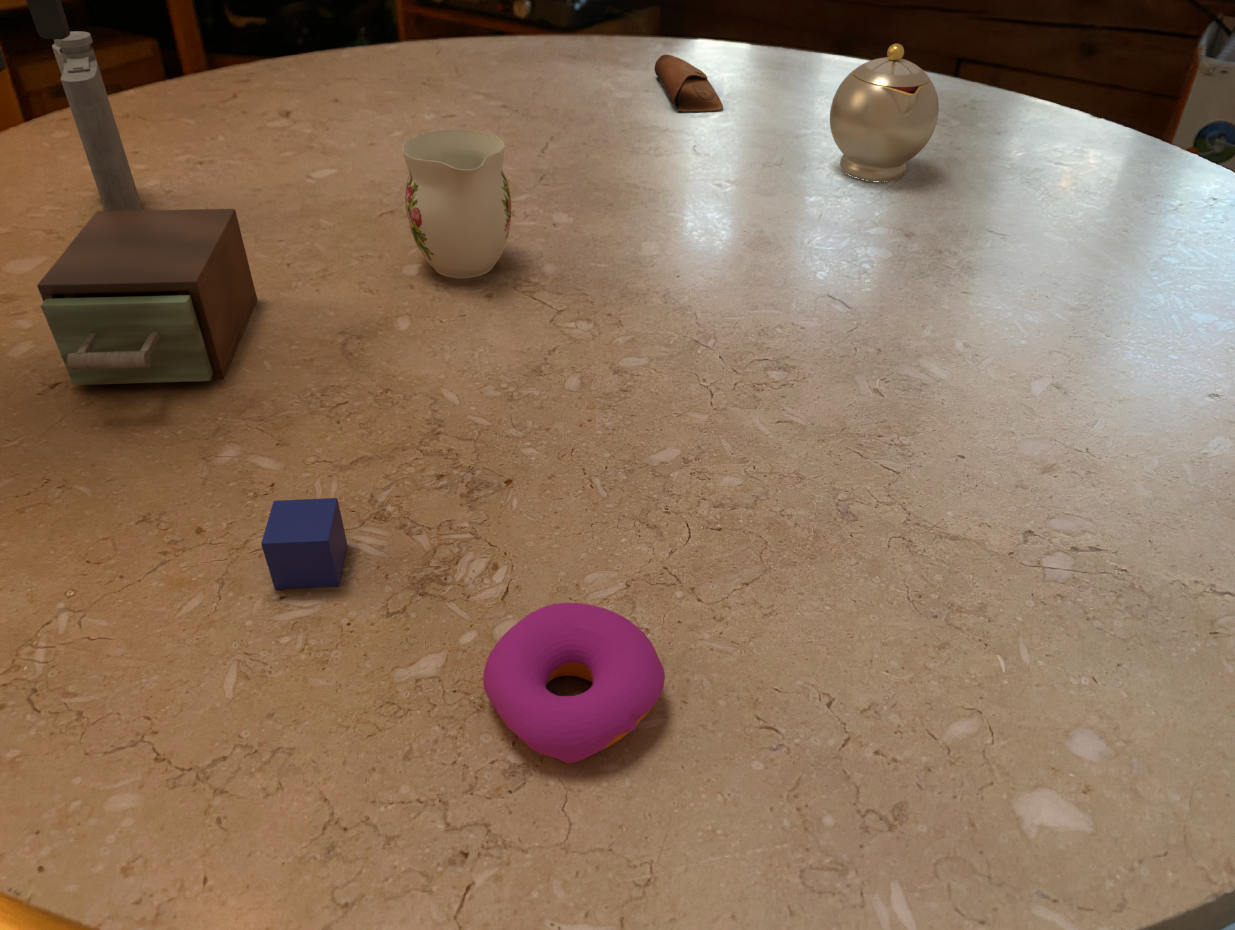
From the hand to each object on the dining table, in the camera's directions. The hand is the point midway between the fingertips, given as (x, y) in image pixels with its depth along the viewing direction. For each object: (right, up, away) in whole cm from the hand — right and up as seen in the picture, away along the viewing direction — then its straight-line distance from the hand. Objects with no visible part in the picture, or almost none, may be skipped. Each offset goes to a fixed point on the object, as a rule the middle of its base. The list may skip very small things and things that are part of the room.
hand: (24, 54), depth 69 cm
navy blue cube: (+22, -37, -2) cm, 43 cm away
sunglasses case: (+55, +29, +82) cm, 103 cm away
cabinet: (+1, -18, +21) cm, 28 cm away
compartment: (+1, -20, +17) cm, 26 cm away
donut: (+41, -45, -10) cm, 62 cm away
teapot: (+78, +10, +59) cm, 98 cm away
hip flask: (-15, -1, +43) cm, 45 cm away
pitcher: (+26, -8, +35) cm, 45 cm away
